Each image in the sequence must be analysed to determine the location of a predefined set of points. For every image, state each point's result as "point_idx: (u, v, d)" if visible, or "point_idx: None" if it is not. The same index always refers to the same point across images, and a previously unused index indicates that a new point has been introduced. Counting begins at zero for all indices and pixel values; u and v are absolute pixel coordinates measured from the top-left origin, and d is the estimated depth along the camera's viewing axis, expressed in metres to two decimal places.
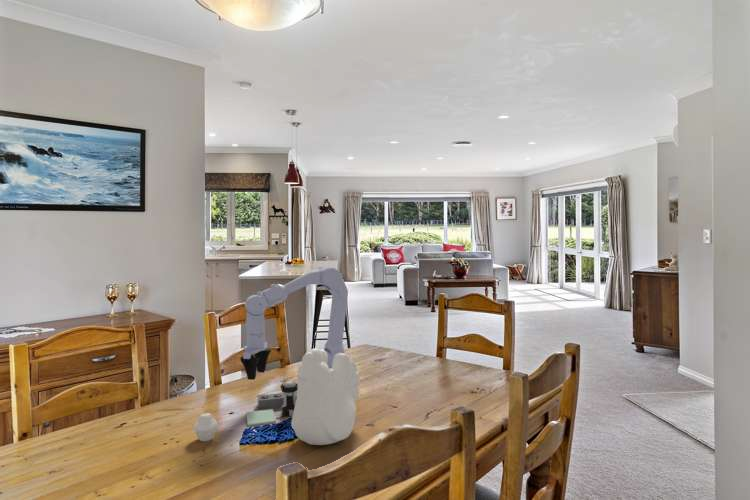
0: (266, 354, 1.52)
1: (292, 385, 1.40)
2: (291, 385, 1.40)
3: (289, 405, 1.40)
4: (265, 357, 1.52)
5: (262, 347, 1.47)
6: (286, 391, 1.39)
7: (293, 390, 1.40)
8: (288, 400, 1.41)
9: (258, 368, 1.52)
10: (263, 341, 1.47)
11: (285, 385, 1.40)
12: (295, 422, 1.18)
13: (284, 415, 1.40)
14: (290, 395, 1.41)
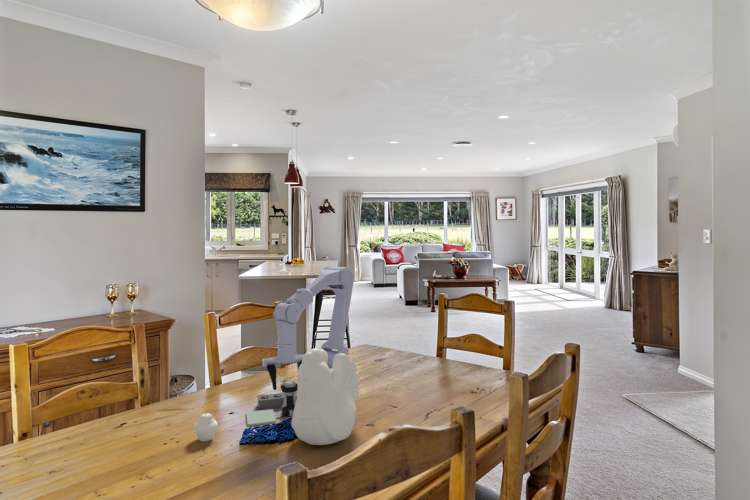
0: None
1: (292, 385, 1.40)
2: (291, 385, 1.40)
3: (289, 405, 1.40)
4: None
5: (285, 359, 1.38)
6: (286, 391, 1.39)
7: (293, 390, 1.40)
8: (288, 400, 1.41)
9: None
10: (287, 353, 1.38)
11: (285, 385, 1.40)
12: (295, 422, 1.18)
13: (284, 415, 1.40)
14: (290, 395, 1.41)
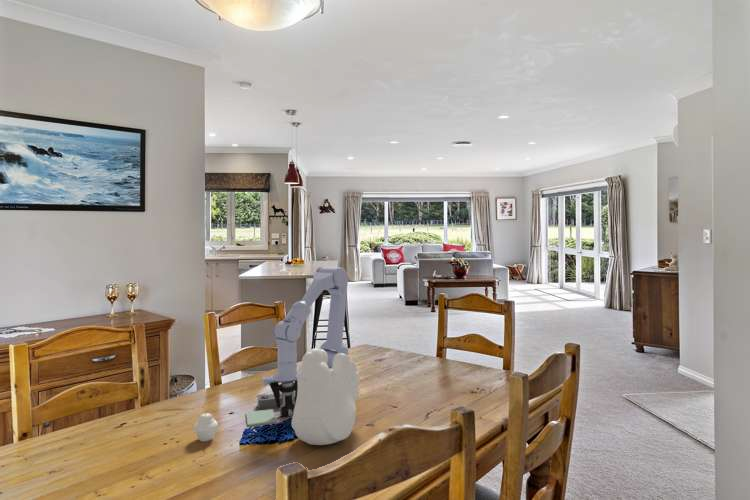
0: (297, 386, 1.41)
1: (290, 385, 1.40)
2: (289, 385, 1.40)
3: (288, 405, 1.40)
4: (297, 389, 1.41)
5: (285, 377, 1.38)
6: (284, 391, 1.39)
7: (291, 390, 1.40)
8: (287, 400, 1.41)
9: (295, 399, 1.43)
10: (287, 371, 1.38)
11: (283, 385, 1.40)
12: (295, 422, 1.18)
13: (283, 415, 1.40)
14: (288, 395, 1.41)
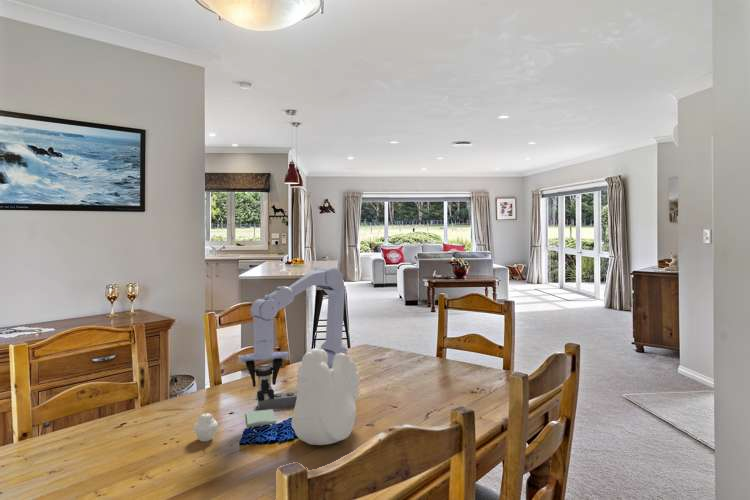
0: (273, 366, 1.38)
1: (266, 369, 1.38)
2: (265, 369, 1.37)
3: (264, 389, 1.38)
4: (273, 369, 1.38)
5: (260, 356, 1.36)
6: (259, 375, 1.37)
7: (267, 374, 1.37)
8: (263, 384, 1.38)
9: (272, 379, 1.41)
10: (262, 350, 1.36)
11: (259, 369, 1.38)
12: (295, 422, 1.18)
13: (259, 399, 1.38)
14: (265, 379, 1.38)
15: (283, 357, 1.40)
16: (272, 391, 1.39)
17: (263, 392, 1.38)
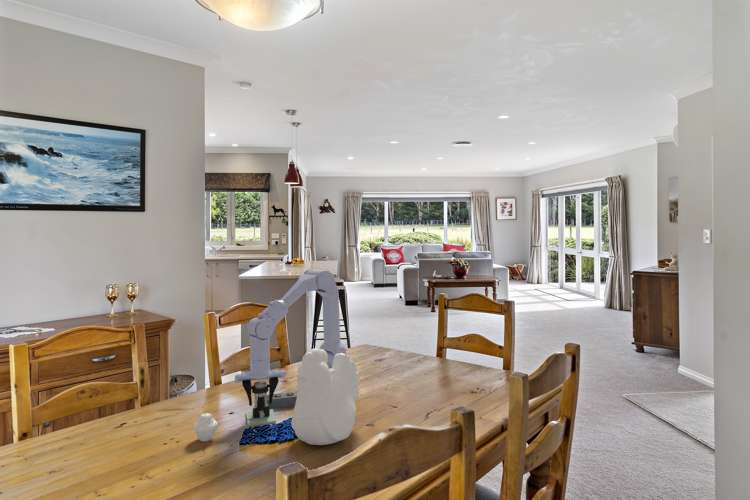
0: (270, 385, 1.38)
1: (262, 386, 1.37)
2: (261, 386, 1.37)
3: (259, 406, 1.37)
4: (270, 388, 1.38)
5: (256, 375, 1.36)
6: (256, 392, 1.37)
7: (263, 391, 1.37)
8: (259, 401, 1.38)
9: (269, 397, 1.40)
10: (259, 369, 1.36)
11: (255, 386, 1.37)
12: (295, 422, 1.18)
13: (254, 416, 1.37)
14: (261, 396, 1.38)
15: (279, 376, 1.40)
16: (268, 408, 1.38)
17: (259, 409, 1.37)
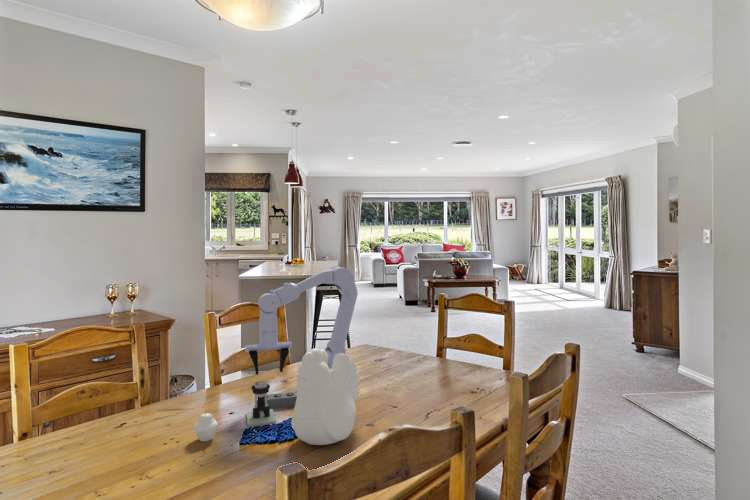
0: (281, 354, 1.50)
1: (262, 387, 1.37)
2: (261, 386, 1.37)
3: (259, 407, 1.37)
4: (281, 357, 1.50)
5: (265, 345, 1.48)
6: (256, 392, 1.36)
7: (263, 391, 1.37)
8: (259, 401, 1.38)
9: None
10: (267, 340, 1.48)
11: (255, 386, 1.37)
12: (295, 422, 1.18)
13: (254, 417, 1.37)
14: (261, 396, 1.38)
15: (286, 347, 1.52)
16: (268, 409, 1.38)
17: (259, 410, 1.37)
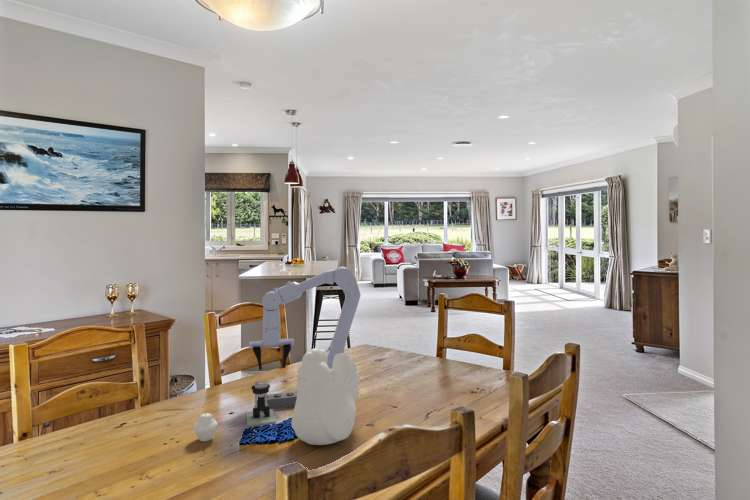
0: (283, 351, 1.55)
1: (262, 387, 1.37)
2: (261, 386, 1.37)
3: (259, 407, 1.37)
4: (283, 353, 1.55)
5: (268, 342, 1.52)
6: (256, 392, 1.36)
7: (263, 391, 1.37)
8: (259, 401, 1.38)
9: (282, 362, 1.57)
10: (270, 336, 1.52)
11: (255, 386, 1.37)
12: (295, 422, 1.18)
13: (254, 417, 1.37)
14: (261, 396, 1.38)
15: (289, 343, 1.57)
16: (268, 409, 1.38)
17: (259, 410, 1.37)
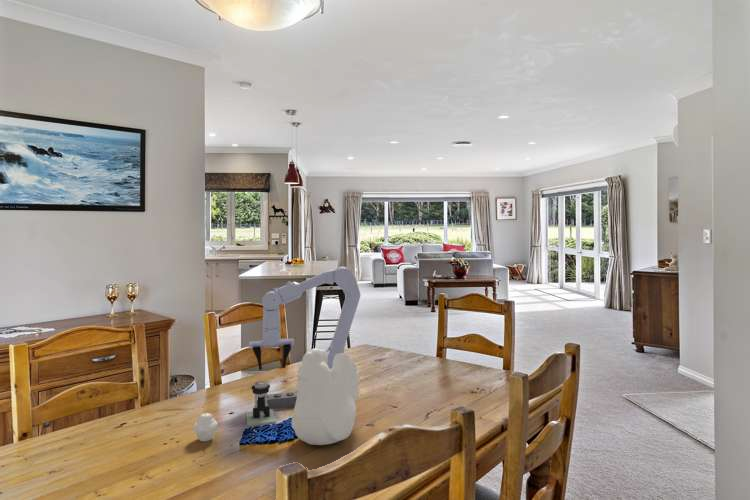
0: (283, 351, 1.55)
1: (262, 387, 1.37)
2: (261, 386, 1.37)
3: (259, 407, 1.37)
4: (283, 353, 1.55)
5: (268, 342, 1.52)
6: (256, 392, 1.36)
7: (263, 391, 1.37)
8: (259, 401, 1.38)
9: (282, 362, 1.57)
10: (270, 336, 1.52)
11: (255, 386, 1.37)
12: (295, 422, 1.18)
13: (254, 417, 1.37)
14: (261, 396, 1.38)
15: (289, 343, 1.57)
16: (268, 409, 1.38)
17: (259, 410, 1.37)
